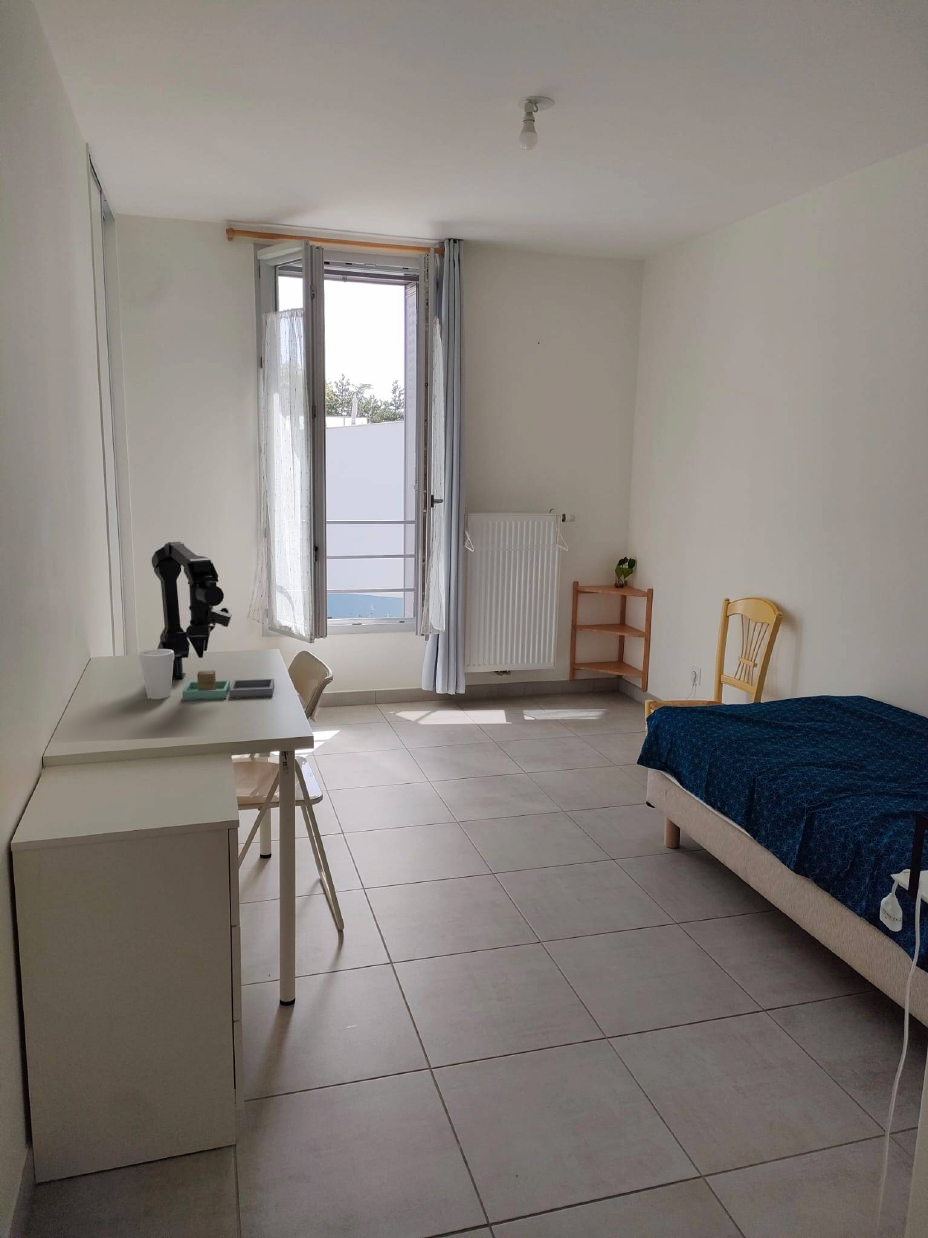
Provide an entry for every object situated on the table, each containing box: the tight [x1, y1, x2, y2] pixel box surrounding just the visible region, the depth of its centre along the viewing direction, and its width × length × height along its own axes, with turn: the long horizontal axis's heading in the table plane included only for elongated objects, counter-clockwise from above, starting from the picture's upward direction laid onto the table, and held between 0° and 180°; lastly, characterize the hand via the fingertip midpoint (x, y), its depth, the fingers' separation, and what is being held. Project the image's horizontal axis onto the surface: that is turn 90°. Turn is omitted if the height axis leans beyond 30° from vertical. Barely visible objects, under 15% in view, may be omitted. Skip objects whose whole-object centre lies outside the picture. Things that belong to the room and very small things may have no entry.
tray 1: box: [182, 680, 231, 701], centre depth 257 cm, size 12×12×2 cm
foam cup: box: [138, 648, 174, 700], centre depth 254 cm, size 10×9×13 cm
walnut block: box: [196, 669, 217, 691], centre depth 256 cm, size 4×4×6 cm
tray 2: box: [229, 678, 275, 699], centre depth 259 cm, size 12×12×2 cm
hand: (202, 654), depth 256 cm, fingers open, 9 cm apart
